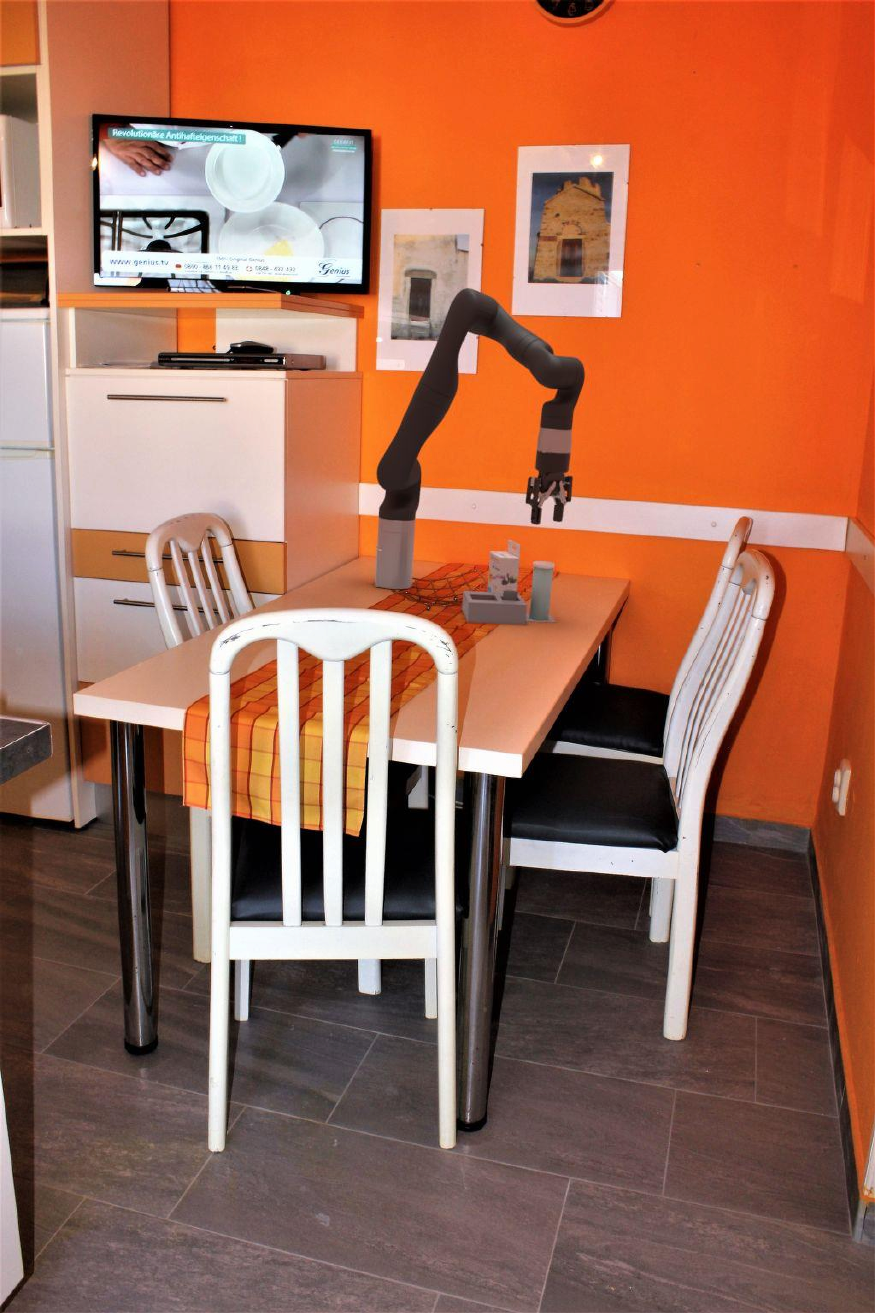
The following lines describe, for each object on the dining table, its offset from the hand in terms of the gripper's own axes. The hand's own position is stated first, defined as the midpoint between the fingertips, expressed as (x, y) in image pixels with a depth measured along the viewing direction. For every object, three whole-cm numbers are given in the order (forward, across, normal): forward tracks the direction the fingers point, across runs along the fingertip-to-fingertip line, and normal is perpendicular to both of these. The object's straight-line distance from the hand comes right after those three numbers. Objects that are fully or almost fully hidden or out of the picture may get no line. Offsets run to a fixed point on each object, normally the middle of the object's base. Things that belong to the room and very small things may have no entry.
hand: (546, 522), depth 250 cm
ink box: (+23, -9, -18) cm, 30 cm away
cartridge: (+22, 0, 0) cm, 22 cm away
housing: (+23, +8, -7) cm, 25 cm away
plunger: (+21, +5, -4) cm, 23 cm away
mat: (+22, 0, 0) cm, 23 cm away
